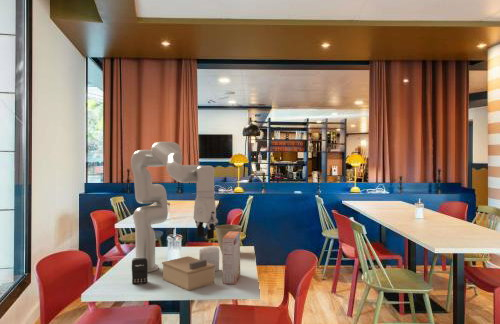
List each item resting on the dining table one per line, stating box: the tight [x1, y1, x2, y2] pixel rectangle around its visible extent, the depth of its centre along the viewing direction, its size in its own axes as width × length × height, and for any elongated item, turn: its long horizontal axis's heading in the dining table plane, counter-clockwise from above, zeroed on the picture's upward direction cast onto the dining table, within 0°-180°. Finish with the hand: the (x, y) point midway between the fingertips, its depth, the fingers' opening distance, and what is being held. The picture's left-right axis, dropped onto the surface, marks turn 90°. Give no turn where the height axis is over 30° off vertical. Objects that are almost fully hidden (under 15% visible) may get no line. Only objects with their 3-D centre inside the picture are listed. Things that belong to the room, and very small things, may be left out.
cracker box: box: [221, 231, 241, 285], centre depth 169 cm, size 14×6×21 cm, turn 171°
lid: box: [161, 255, 215, 274], centre depth 166 cm, size 21×15×3 cm
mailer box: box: [162, 264, 215, 292], centre depth 166 cm, size 20×14×7 cm
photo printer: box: [198, 245, 220, 272], centre depth 181 cm, size 10×4×12 cm, turn 124°
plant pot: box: [215, 224, 242, 253], centre depth 214 cm, size 15×15×16 cm
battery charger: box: [131, 256, 149, 285], centre depth 164 cm, size 7×4×11 cm, turn 103°
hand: (205, 236), depth 156 cm, fingers open, 6 cm apart
